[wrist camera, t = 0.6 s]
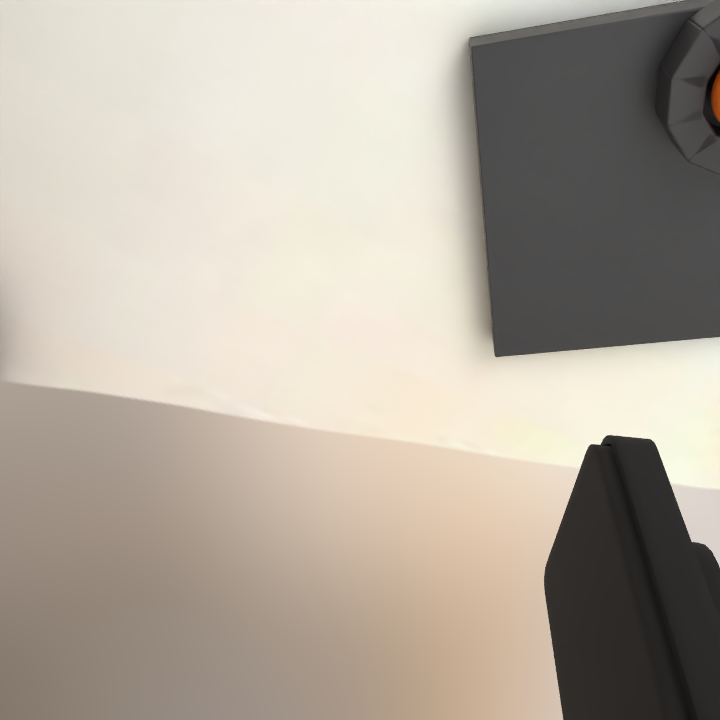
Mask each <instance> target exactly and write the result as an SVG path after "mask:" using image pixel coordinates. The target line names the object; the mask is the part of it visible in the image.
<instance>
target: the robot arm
mask: <svg viewBox="0 0 720 720" xmlns="http://www.w3.org/2000/svg"><path fill="white" fill-rule="evenodd" d="M544 587H545V596H546V603H547V610H548V617H549V623H550V630H551V638H552V644H553V651H554V658H555V665H556V672H557V679H558V686H559V692H560V699H561V706H562V713H563V720H720V568H719V565H718V563H717V561H716V559H715V557H714V555H713V553H712V551H711V550H709V548H708V547H707V546H706V545H704V544H700V543H695V542H691V539H690V537H689V534H688V531H687V528H686V526H685V523H684V520H683V517H682V515H681V512H680V510H679V507H678V504H677V501H676V498H675V496H674V493H673V490H672V487H671V485H670V482H669V479H668V477H667V474H666V471H665V468H664V466H663V463H662V460H661V457H660V455H659V452H658V449H657V447H656V445H655V443H654V442H653V441H652V440H651V439H642V438H632V437H622V436H612V435H608V436H606V437H605V438H604V439H603V441H602V443H601V445H595V444H591V445H590V446H589V447H588V449H587V451H586V454H585V457H584V460H583V463H582V465H581V468H580V471H579V474H578V477H577V479H576V482H575V485H574V488H573V491H572V493H571V496H570V499H569V502H568V505H567V507H566V510H565V513H564V516H563V519H562V521H561V524H560V527H559V530H558V533H557V535H556V539H555V541H554V544H553V547H552V550H551V552H550V555H549V558H548V561H547V564H546V567H545V576H544Z"/></svg>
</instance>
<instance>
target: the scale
mask: <svg viewBox="0 0 720 720" xmlns="http://www.w3.org/2000/svg"><path fill="white" fill-rule="evenodd" d="M469 44H470V57H471V69H472V82H473V94H474V107H475V120H476V132H477V145H478V157H479V170H480V182H481V195H482V207H483V220H484V233H485V245H486V258H487V270H488V283H489V295H490V308H491V321H492V333H493V344H494V352H495V357H502V356H513V355H524V354H535V353H546V352H557V351H568V350H579V349H590V348H601V347H612V346H623V345H634V344H645V343H656V342H667V341H679V340H690V339H701V338H712V337H720V122H719V121H718V120H717V119H716V117H715V115H714V113H713V110H712V106H711V92H712V87H713V84H714V81H715V79H716V76H717V74H718V72H719V71H720V0H686V1H680V2H674V3H668V4H663V5H657V6H651V7H645V8H639V9H634V10H628V11H622V12H616V13H610V14H605V15H599V16H593V17H587V18H581V19H576V20H570V21H564V22H558V23H552V24H547V25H541V26H535V27H529V28H523V29H518V30H512V31H506V32H500V33H494V34H489V35H483V36H477V37H471V38H470V39H469Z"/></svg>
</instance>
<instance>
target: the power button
mask: <svg viewBox="0 0 720 720" xmlns="http://www.w3.org/2000/svg"><path fill="white" fill-rule="evenodd" d="M711 106H712V110H713V113H714V115H715V117H716V119H717V120H718V121H719V122H720V71H719V72H718V74H717V76H716V79H715V81H714V84H713V87H712V92H711Z"/></svg>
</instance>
